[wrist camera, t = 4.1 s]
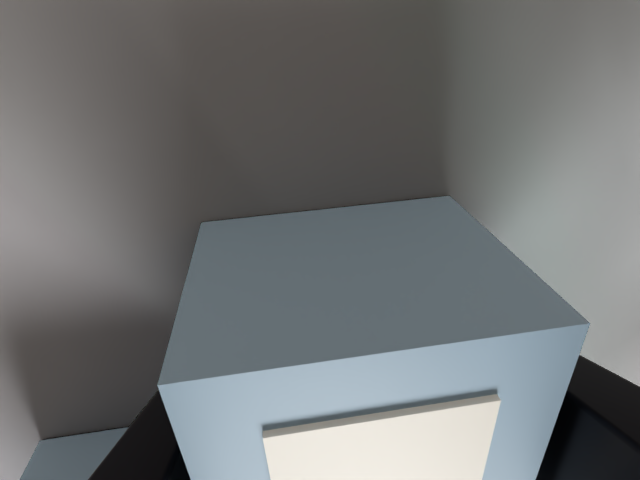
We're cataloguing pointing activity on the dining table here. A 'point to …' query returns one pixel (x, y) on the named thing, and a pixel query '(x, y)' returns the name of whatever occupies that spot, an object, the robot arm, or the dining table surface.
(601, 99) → the dining table surface
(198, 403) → the light blue block
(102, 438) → the blue notched block
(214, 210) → the dining table surface
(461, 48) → the dining table surface
